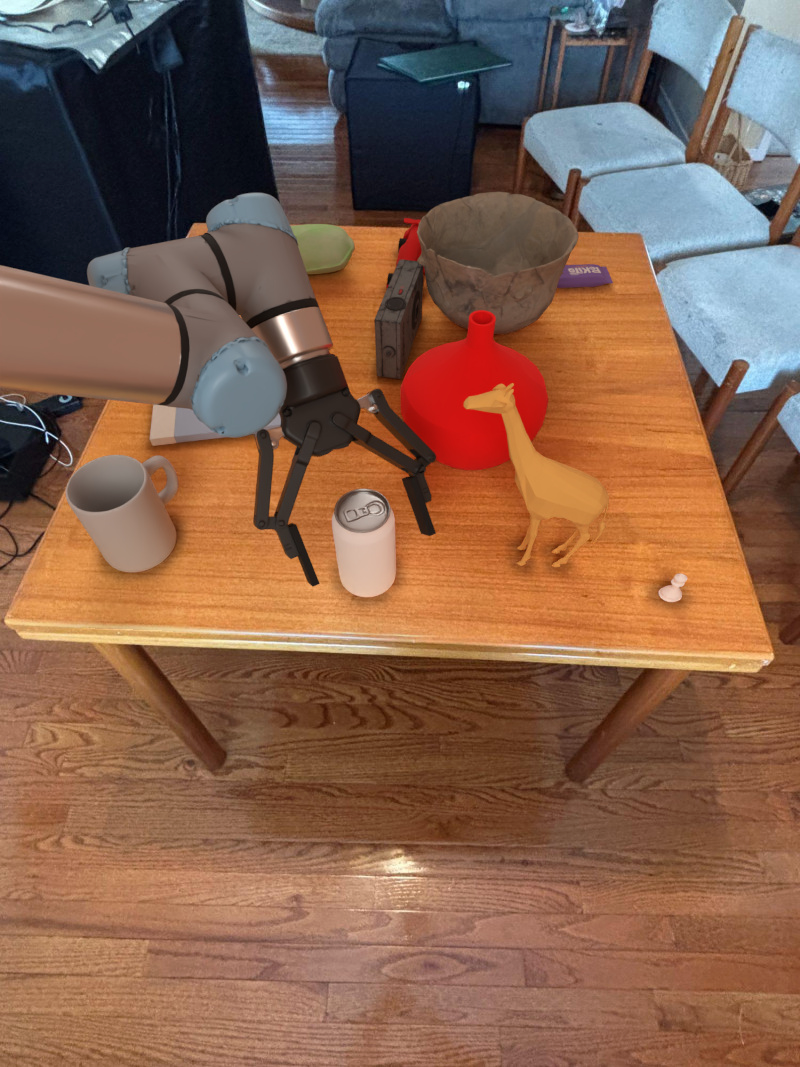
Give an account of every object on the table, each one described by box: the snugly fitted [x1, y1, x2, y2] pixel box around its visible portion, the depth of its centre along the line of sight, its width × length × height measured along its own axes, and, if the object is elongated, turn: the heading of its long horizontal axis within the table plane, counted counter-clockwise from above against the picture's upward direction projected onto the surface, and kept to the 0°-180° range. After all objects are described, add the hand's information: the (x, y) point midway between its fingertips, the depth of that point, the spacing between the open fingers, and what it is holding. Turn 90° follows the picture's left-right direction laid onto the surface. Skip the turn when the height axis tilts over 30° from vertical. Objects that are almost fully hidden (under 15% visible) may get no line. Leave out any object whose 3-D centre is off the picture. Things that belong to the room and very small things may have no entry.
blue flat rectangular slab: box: [149, 404, 281, 447], centre depth 90 cm, size 20×16×1 cm
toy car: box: [385, 217, 425, 289], centre depth 107 cm, size 6×18×5 cm, turn 170°
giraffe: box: [463, 383, 610, 568], centre depth 64 cm, size 16×4×25 cm, turn 83°
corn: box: [290, 223, 356, 275], centre depth 107 cm, size 8×8×20 cm
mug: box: [65, 454, 180, 573], centre depth 72 cm, size 12×8×11 cm
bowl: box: [417, 191, 580, 335], centre depth 95 cm, size 22×22×15 cm
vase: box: [399, 310, 549, 471], centre depth 78 cm, size 18×18×19 cm
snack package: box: [557, 263, 614, 289], centre depth 107 cm, size 12×2×5 cm
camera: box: [373, 259, 424, 380], centre depth 93 cm, size 16×4×10 cm, turn 167°
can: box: [331, 488, 397, 598], centre depth 68 cm, size 6×6×12 cm
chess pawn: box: [658, 572, 688, 603], centre depth 69 cm, size 3×2×4 cm
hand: (372, 558), depth 68 cm, fingers open, 13 cm apart
